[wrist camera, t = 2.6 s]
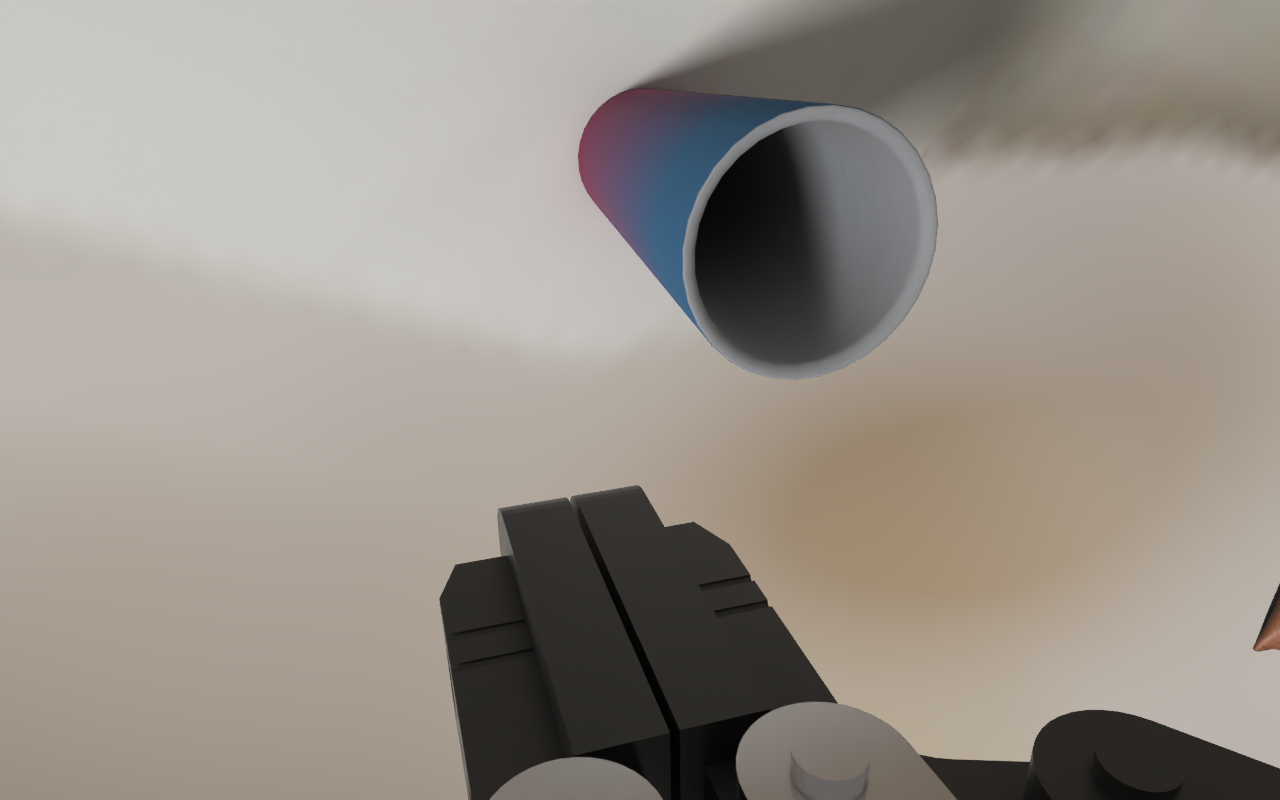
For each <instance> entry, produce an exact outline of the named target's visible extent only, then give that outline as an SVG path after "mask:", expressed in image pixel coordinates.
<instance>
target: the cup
mask: <svg viewBox="0 0 1280 800" xmlns="http://www.w3.org/2000/svg"><path fill="white" fill-rule="evenodd" d="M578 160H579V171H580V175H581V179H582V182H583V184H584V186H585V189H586V191H587V193H588V194H589V196H590V197H591V198H592V200H593V201H594V202H595V204H596V205H597V206H598V207H599V208H600V210H601V211H602V212H603V213H604V215H605V216H606V217H607V218H608V219H609V221H610V222H611V223H612V224H613V226H614V227H615V228H616V229H617V230H618V232H619V233H620V234H621V235H622V237H623V238H624V239H625V240H626V241H627V243H628V244H629V245H630V246H631V247H632V249H633V250H634V251H635V252H636V254H637V255H638V256H639V257H640V258H641V260H642V261H643V262H644V263H645V265H646V266H647V267H648V268H649V269H650V271H651V272H652V273H653V274H654V276H655V277H656V278H657V279H658V280H659V282H660V283H661V284H662V285H663V287H664V288H665V289H666V290H667V291H668V293H669V294H670V295H671V296H672V297H673V299H674V300H675V301H676V302H677V304H678V305H679V306H680V307H681V308H682V310H683V311H684V312H685V313H686V315H687V316H688V317H689V318H690V319H691V321H692V322H693V323H694V324H695V326H696V327H697V328H698V329H699V330H700V332H701V333H702V334H703V335H704V337H705V338H706V339H707V340H708V341H709V343H710V344H711V345H712V346H713V347H714V348H715V349H716V350H718V351H719V352H720V353H721V354H722V355H724V357H726V358H727V359H728V360H729V361H731V362H733V363H734V364H736V365H738V366H740V367H742V368H744V369H745V370H747V371H749V372H752V373H755V374H759V375H763V376H766V377H770V378H777V379H795V380H797V379H804V378H811V377H818V376H822V375H825V374H828V373H831V372H834V371H837V370H840V369H842V368H845V367H847V366H848V365H850V364H852V363H854V362H856V361H857V360H859V359H861V358H863V357H865V356H866V355H867V354H869V353H870V352H871V351H872V350H874V349H875V348H876V347H877V346H879V345H880V344H881V343H882V342H884V341H885V340H886V339H887V338H888V337H889V335H890V334H891V333H892V332H893V331H894V330H895V329H896V328H897V327H898V326H899V325H900V324H901V322H902V321H903V320H904V319H905V317H906V316H907V314H908V313H909V311H910V310H911V308H912V306H913V305H914V303H915V302H916V300H917V299H918V296H919V294H920V292H921V290H922V288H923V286H924V283H925V281H926V279H927V277H928V274H929V271H930V267H931V263H932V260H933V256H934V252H935V247H936V237H937V227H938V220H937V207H936V197H935V193H934V190H933V186H932V183H931V179H930V175H929V173H928V171H927V169H926V167H925V165H924V163H923V161H922V159H921V157H920V155H919V153H918V152H917V150H916V149H915V148H914V147H913V146H912V144H911V143H910V142H909V141H908V140H907V138H906V137H905V136H904V135H903V134H902V133H901V132H900V131H899V130H897V129H896V128H895V127H893V126H892V125H891V124H889V123H888V122H887V121H885V120H884V119H883V118H881V117H878V116H876V115H874V114H871V113H869V112H866V111H864V110H862V109H859V108H854V107H848V106H842V105H835V104H825V103H813V102H801V101H789V100H777V99H765V98H753V97H741V96H730V95H718V94H706V93H694V92H682V91H670V90H658V89H633V90H630V91H626V92H622V93H620V94H618V95H616V96H614V97H612V98H610V99H609V100H608V101H607V102H605V103H604V104H603V105H602V106H600V107H599V108H598V110H597V111H596V112H595V113H594V114H593V116H592V117H591V118H590V120H589V122H588V124H587V125H586V127H585V129H584V132H583V135H582V138H581V141H580V146H579V154H578Z"/></svg>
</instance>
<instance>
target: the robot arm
mask: <svg viewBox="0 0 1280 800" xmlns="http://www.w3.org/2000/svg"><path fill="white" fill-rule="evenodd" d="M498 528H499V538H500V539H499V540H500V550H501V557H497V558H491V559H485V560H480V561H474V562H468V563H463V564H458V565H455V567H454V569H453V571H452V573H451V575H450V578H449V580H448V582H447V584H446V586H445V588H444V590H443V592H442V595H441V597H440V606H441V614H442V620H443V628H444V636H445V643H446V650H447V658H448V664H449V672H450V680H451V687H452V694H453V702H454V708H455V716H456V722H457V729H458V735H459V742H460V748H461V754H462V760H463V767H464V773H465V779H466V786H467V791H468V799H469V800H1280V769H1279V768H1277V767H1274V766H1271V765H1269V764H1266V763H1263V762H1261V761H1258V760H1255V759H1252V758H1250V757H1247V756H1245V755H1242V754H1239V753H1237V752H1234V751H1231V750H1229V749H1226V748H1223V747H1220V746H1218V745H1215V744H1212V743H1210V742H1207V741H1204V740H1202V739H1199V738H1196V737H1193V736H1191V735H1188V734H1186V733H1183V732H1180V731H1178V730H1175V729H1172V728H1170V727H1167V726H1164V725H1162V724H1159V723H1156V722H1154V721H1151V720H1148V719H1144V718H1142V717H1138V716H1135V715H1131V714H1126V713H1122V712H1116V711H1115V712H1114V711H1106V710H1084V711H1077V712H1071V713H1068V714H1066V715H1062V716H1059V717H1058V718H1056V719H1054V720H1052V721H1050V722H1049V723H1048V724H1047V725H1046V726H1044V727H1043V728H1042V729H1041V731H1040V732H1039V734H1038V735H1037V737H1036V740H1035V743H1034V746H1033V751H1032V755H1031V760H1030V762H1013V761H983V760H982V761H981V760H953V759H941V758H933V757H928V756H923V755H919V754H918V753H917V752H916V751H915V750H914V748H913V747H912V746H911V745H910V744H909V742H908V741H907V740H906V739H905V738H904V737H903V736H902V735H901V734H900V733H899V732H898V731H896V730H895V729H894V728H893V727H891V726H890V725H889V724H887V723H886V722H884V721H882V720H881V719H879V718H877V717H875V716H874V715H872V714H869V713H867V712H864V711H862V710H860V709H856V708H853V707H850V706H846V705H842V704H838V703H837V702H836V700H835V699H834V697H833V696H832V694H831V693H830V691H829V690H828V688H827V687H826V685H825V684H824V682H823V681H822V679H821V678H820V677H819V675H818V674H817V673H816V671H815V669H814V668H813V666H812V665H811V663H810V662H809V660H808V659H807V658H806V656H805V655H804V653H803V652H802V650H801V649H800V647H799V646H798V644H797V643H796V641H795V640H794V638H793V637H792V635H791V634H790V633H789V631H788V629H787V628H786V627H785V625H784V624H783V622H782V621H781V619H780V618H779V616H778V615H777V614H776V612H775V610H774V609H773V608H772V607H769V606H768V602H767V599H766V597H765V596H764V594H763V593H762V592H761V590H760V589H759V587H758V585H757V584H756V582H755V581H751V578H750V574H749V572H748V571H747V569H746V568H745V566H744V565H743V563H742V562H741V560H740V559H739V557H738V556H737V554H736V553H735V552H734V550H733V549H732V547H731V546H730V545H729V544H728V543H726V542H725V541H723V540H722V539H720V538H718V537H717V536H715V535H714V534H712V533H711V532H709V531H707V530H706V529H704V528H703V527H701V526H699V525H698V524H696V523H695V522H692V523H686V524H680V525H674V526H669V527H664V525H663V524H662V522H661V520H660V519H659V517H658V515H657V513H656V512H655V510H654V508H653V507H652V505H651V504H650V502H649V500H648V498H647V496H646V495H645V493H644V491H643V490H642V488H641V487H640V486H637V485H636V486H630V487H624V488H618V489H612V490H606V491H600V492H594V493H588V494H582V495H576V496H572V497H571V499H570V502H569V500H568V499H567V498H560V499H554V500H547V501H541V502H535V503H529V504H523V505H517V506H511V507H505V508H499V509H498Z"/></svg>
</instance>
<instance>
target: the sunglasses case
mask: <svg viewBox="0 0 1280 800" xmlns="http://www.w3.org/2000/svg"><path fill="white" fill-rule="evenodd" d="M1253 649H1254V650H1255V651H1264V650H1270V649H1277V650H1280V584H1279V586H1278V588H1277V591H1276V593H1275V595H1274V598H1273V600H1272V602H1271V605H1270V607H1269V609H1268V612H1267V614H1266V617H1265V619H1264V622H1263V625H1262V627H1261V630H1260V632H1259V635H1258V638H1257V640H1256V643H1255V645H1254V647H1253Z"/></svg>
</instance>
